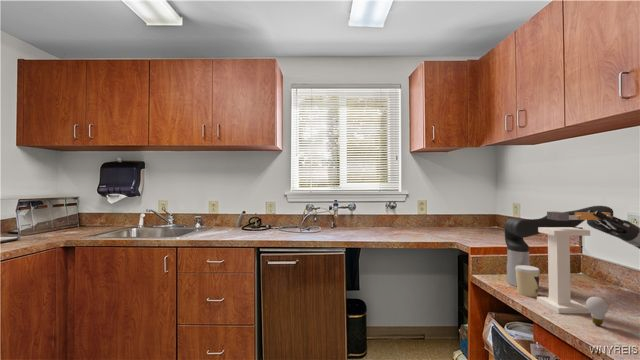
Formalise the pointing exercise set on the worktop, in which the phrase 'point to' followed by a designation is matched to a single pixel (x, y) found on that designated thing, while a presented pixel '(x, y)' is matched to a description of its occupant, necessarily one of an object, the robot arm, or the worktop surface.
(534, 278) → the coffee cup
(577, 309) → the white pedestal stand
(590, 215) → the putter
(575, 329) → the worktop surface
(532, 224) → the robot arm
